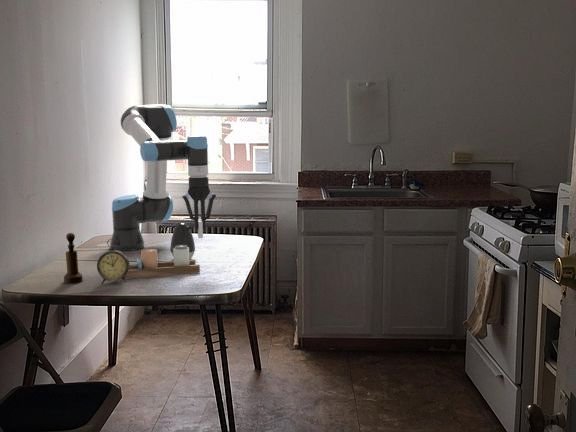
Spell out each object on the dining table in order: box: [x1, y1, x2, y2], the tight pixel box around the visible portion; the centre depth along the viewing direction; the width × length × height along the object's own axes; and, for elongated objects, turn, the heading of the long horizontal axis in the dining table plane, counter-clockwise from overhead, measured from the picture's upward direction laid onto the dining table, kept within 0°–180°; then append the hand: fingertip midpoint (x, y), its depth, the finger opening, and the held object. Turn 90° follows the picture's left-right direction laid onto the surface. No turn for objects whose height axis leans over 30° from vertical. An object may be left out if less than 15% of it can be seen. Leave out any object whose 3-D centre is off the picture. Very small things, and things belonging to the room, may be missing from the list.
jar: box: [172, 245, 190, 266], centre depth 264 cm, size 6×6×10 cm
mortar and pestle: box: [63, 232, 84, 284], centre depth 249 cm, size 7×6×18 cm
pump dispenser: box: [169, 222, 196, 260], centre depth 284 cm, size 10×10×15 cm
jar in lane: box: [140, 248, 159, 269], centre depth 260 cm, size 6×6×9 cm
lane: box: [124, 259, 201, 280], centre depth 262 cm, size 10×29×3 cm, turn 108°
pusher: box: [129, 257, 142, 269], centre depth 258 cm, size 7×7×5 cm
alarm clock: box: [96, 238, 130, 285], centre depth 247 cm, size 11×5×16 cm, turn 95°
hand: (200, 237), depth 265 cm, fingers closed
